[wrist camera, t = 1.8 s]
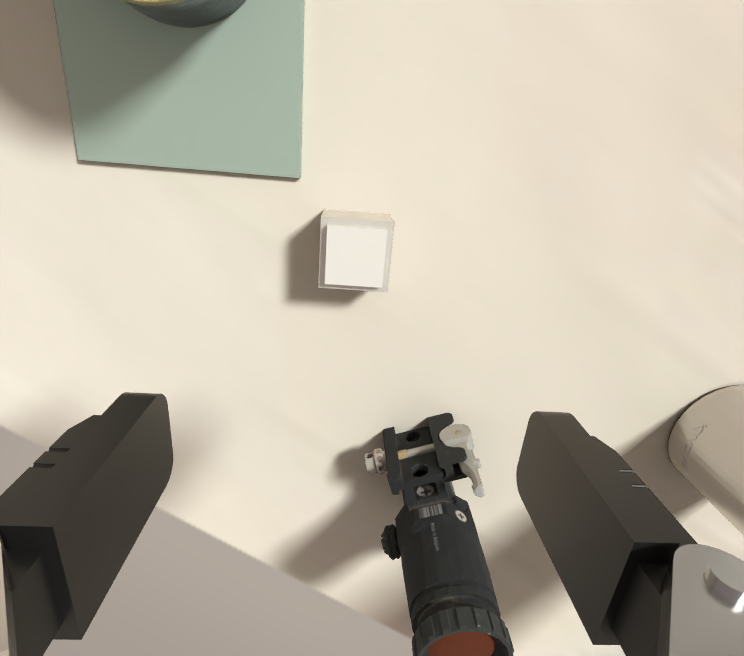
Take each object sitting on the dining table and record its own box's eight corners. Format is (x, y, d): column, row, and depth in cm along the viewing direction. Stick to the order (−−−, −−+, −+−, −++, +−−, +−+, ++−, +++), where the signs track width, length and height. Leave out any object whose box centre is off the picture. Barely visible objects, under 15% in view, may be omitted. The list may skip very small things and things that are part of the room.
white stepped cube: (389, 214, 28) (395, 223, 25) (384, 277, 30) (388, 294, 26) (324, 209, 28) (320, 217, 24) (321, 272, 30) (317, 290, 26)
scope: (527, 566, 21) (549, 688, 25) (461, 408, 34) (482, 504, 38) (363, 602, 21) (409, 717, 25) (359, 433, 34) (390, 525, 38)
